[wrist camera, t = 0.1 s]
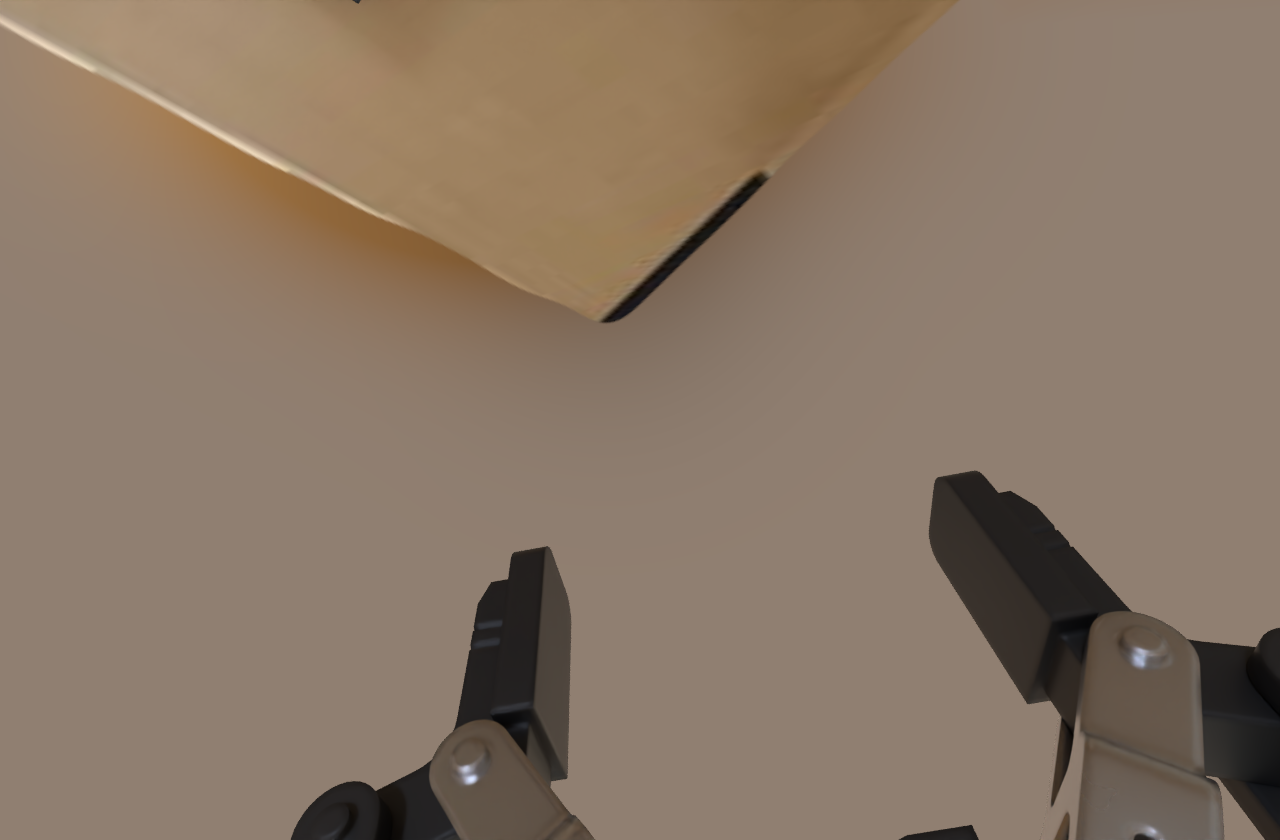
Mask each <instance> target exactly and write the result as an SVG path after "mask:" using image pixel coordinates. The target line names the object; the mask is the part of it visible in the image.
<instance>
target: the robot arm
mask: <svg viewBox="0 0 1280 840" xmlns="http://www.w3.org/2000/svg"><path fill="white" fill-rule="evenodd" d="M929 539H930V544H931V548H932V551H933V553H934V556H935V558H936V560H937V562H938V563H939V565H940V567H941V568H942V570H943V571H944V573H945V575H946V576H947V578H948V579H949V581H950V582H951V584H952V586H953V587H954V589H955V590H956V592H957V593H958V595H959V596H960V598H961V600H962V601H963V603H964V604H965V606H966V608H967V609H968V611H969V612H970V614H971V615H972V617H973V619H974V620H975V622H976V624H977V625H978V627H979V628H980V630H981V631H982V633H983V634H984V636H985V638H986V639H987V641H988V643H989V644H990V645H991V647H992V649H993V650H994V652H995V653H996V655H997V657H998V658H999V660H1000V661H1001V663H1002V665H1003V666H1004V668H1005V669H1006V671H1007V672H1008V674H1009V676H1010V677H1011V679H1012V680H1013V682H1014V684H1015V685H1016V687H1017V688H1018V690H1019V692H1020V693H1021V695H1022V696H1023V698H1024V699H1025V701H1026V702H1027V704H1032V703H1038V702H1044V701H1050V700H1051V702H1052V703H1053V705H1054V706H1055V708H1056V709H1057V711H1058V712H1059V714H1060V716H1059V719H1058V723H1057V730H1056V738H1055V745H1054V753H1053V761H1052V769H1051V776H1050V784H1049V791H1048V799H1047V807H1046V814H1045V820H1044V825H1043V830H1042V834H1041V838H1040V840H1224V825H1223V808H1222V797H1221V792H1220V788H1219V786H1218V784H1217V782H1216V781H1214V780H1212V779H1209V778H1207V777H1206V776H1212V777H1218V778H1219V779H1220V780H1221V782H1222V783H1223V784H1224V786H1225V787H1226V788H1227V790H1228V791H1229V792H1230V794H1231V795H1232V796H1233V798H1234V799H1235V800H1236V802H1237V803H1238V804H1239V806H1240V807H1241V808H1242V810H1243V811H1244V812H1245V813H1246V815H1247V816H1248V818H1249V819H1250V820H1251V821H1252V823H1253V824H1254V826H1255V827H1256V828H1257V830H1258V831H1259V832H1260V834H1261V835H1262V836H1263V837H1264V839H1265V840H1280V628H1276V629H1273V630H1271V631H1268V632H1267V633H1266V634H1264V635H1263V637H1262V638H1261V640H1260V641H1259V643H1258V645H1257V646H1256V647H1249V646H1238V645H1229V644H1220V643H1210V642H1201V641H1194V640H1188V639H1186V638H1185V637H1184V636H1183V635H1182V634H1180V632H1179V631H1177V630H1176V629H1174V628H1173V627H1171V626H1170V625H1168V624H1166V623H1164V622H1162V621H1160V620H1158V619H1156V618H1153V617H1151V616H1148V615H1145V614H1141V613H1136V612H1132V611H1131V610H1130V609H1129V608H1128V607H1127V606H1126V605H1125V604H1124V603H1123V602H1122V601H1121V600H1120V598H1119V597H1118V596H1117V595H1116V594H1115V593H1114V592H1113V591H1112V589H1111V588H1110V587H1109V586H1108V585H1107V584H1106V583H1105V582H1104V581H1103V579H1102V578H1101V577H1100V576H1099V575H1098V574H1097V573H1096V572H1095V571H1094V570H1093V568H1092V567H1091V566H1090V565H1089V564H1088V563H1087V562H1086V561H1085V560H1084V559H1083V557H1082V556H1081V555H1080V554H1079V553H1078V552H1077V551H1076V550H1075V548H1074V547H1070V545H1069V542H1068V541H1067V540H1066V539H1065V538H1064V536H1063V535H1062V534H1061V533H1060V532H1059V531H1058V530H1055V528H1054V525H1053V524H1052V523H1051V522H1050V521H1049V520H1048V519H1047V517H1046V516H1045V515H1044V514H1043V513H1042V512H1041V511H1040V510H1039V509H1038V508H1037V506H1035V505H1033V504H1032V503H1030V502H1028V501H1027V500H1025V499H1023V498H1022V497H1020V496H1018V495H1016V494H1015V493H1013V492H1011V491H1007V492H1002V493H998V492H997V491H996V490H995V488H994V487H993V486H992V485H991V484H990V483H989V481H988V480H987V479H986V478H985V477H984V476H983V475H982V474H981V473H980V472H978V471H970V472H965V473H959V474H953V475H948V476H943V477H938V478H937V479H936V480H935V483H934V490H933V499H932V508H931V517H930V526H929ZM570 650H571V614H570V606H569V601H568V597H567V593H566V590H565V587H564V585H563V582H562V579H561V576H560V573H559V571H558V568H557V565H556V563H555V560H554V557H553V554H552V551H551V549H550V548H549V547H548V546H547V547H542V548H536V549H530V550H525V551H519V552H514V553H513V554H512V557H511V562H510V569H509V577H508V579H507V580H502V581H496V582H491V584H490V585H489V587H488V589H487V590H486V592H485V593H484V595H483V597H482V598H481V600H480V602H479V603H478V606H477V612H476V617H475V623H474V631H473V635H472V640H471V650H470V651H469V656H468V662H467V667H466V673H465V678H464V684H463V689H462V696H461V700H460V706H459V712H458V717H457V721H456V725H455V728H454V730H453V732H452V733H451V734H449V735H448V736H447V737H446V738H445V739H444V741H443V742H442V743H441V744H440V746H439V747H438V749H437V751H436V752H435V754H434V756H433V759H432V760H431V761H430V762H428V763H427V764H426V765H424V766H423V767H421V768H420V769H418V770H416V771H414V772H412V773H411V774H409V775H407V776H405V777H403V778H401V779H399V780H397V781H395V782H393V783H391V784H389V785H387V786H385V787H383V788H381V789H379V790H377V791H375V790H374V789H373V788H372V787H371V786H370V785H368V784H366V783H363V782H356V781H353V782H346V783H343V784H340V785H337V786H335V787H333V788H331V789H330V790H328V791H326V792H325V793H324V794H322V795H321V796H320V797H319V798H317V799H316V800H315V801H314V802H313V803H312V804H311V805H310V806H309V807H308V809H307V810H306V811H305V812H304V814H303V815H302V817H301V818H300V820H299V821H298V824H297V825H296V827H295V829H294V832H293V835H292V837H291V840H595V839H594V838H593V836H592V835H591V834H590V832H589V831H588V830H587V828H586V827H585V826H584V825H583V824H582V823H581V821H580V820H579V819H578V818H577V817H576V816H575V815H572V814H570V812H569V811H568V810H567V809H566V808H565V806H564V805H563V804H562V802H561V801H560V800H559V798H558V797H557V796H556V795H555V793H554V792H553V791H552V789H551V788H550V785H551V781H556V780H561V779H567V773H568V770H567V769H568V732H569V690H570ZM899 840H979V839H978V837H977V835H976V833H975V831H974V829H973V826H972V825H969V826H963V827H956V828H950V829H943V830H938V831H931V832H925V833H919V834H913V835H907V836H905V837H903V838H901V839H899Z"/></svg>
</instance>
